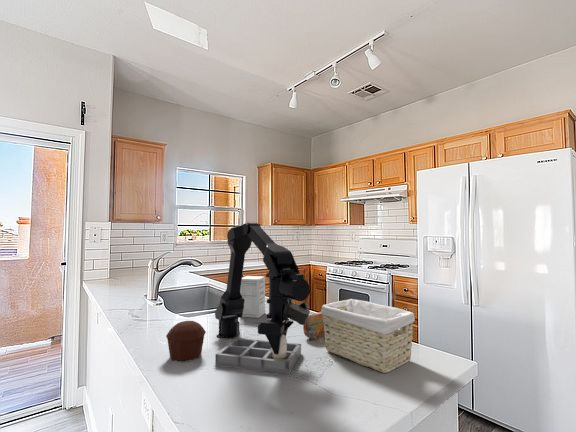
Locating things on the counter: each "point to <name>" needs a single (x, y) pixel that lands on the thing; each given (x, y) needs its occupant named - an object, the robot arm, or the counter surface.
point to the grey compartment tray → (257, 356)
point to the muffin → (185, 341)
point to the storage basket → (369, 333)
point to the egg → (281, 348)
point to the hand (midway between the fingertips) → (278, 351)
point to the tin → (314, 326)
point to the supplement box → (253, 296)
